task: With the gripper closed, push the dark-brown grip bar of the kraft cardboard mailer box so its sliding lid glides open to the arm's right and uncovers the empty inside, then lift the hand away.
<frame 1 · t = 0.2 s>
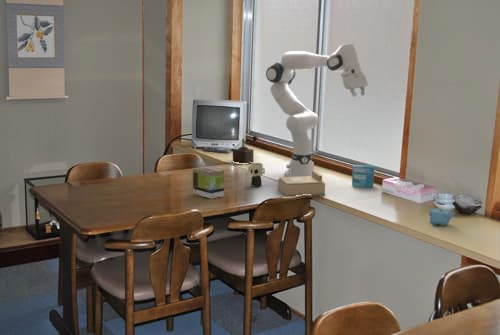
hand: (359, 95, 362), 52 cm above the counter, tool tilted 20°, fingers open, 8 cm apart
teapot: (441, 225, 296), on the counter
tea box: (208, 196, 346), on the counter
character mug: (256, 186, 368), on the counter
lid: (301, 177, 352), point 9 cm above the counter, slide at 0.0 cm
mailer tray: (301, 192, 354), on the counter
data package: (362, 186, 370), on the counter
pepper mill: (245, 163, 436), on the counter
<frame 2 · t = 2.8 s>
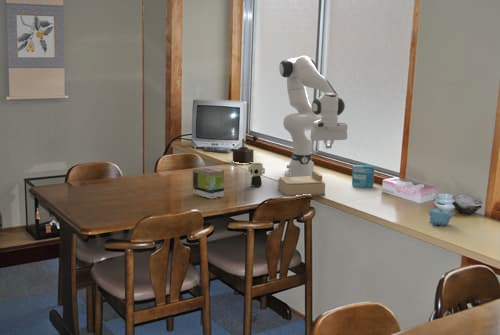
hand: (328, 148, 352), 24 cm above the counter, tool pointing down, fingers closed
nothing on the counter moved.
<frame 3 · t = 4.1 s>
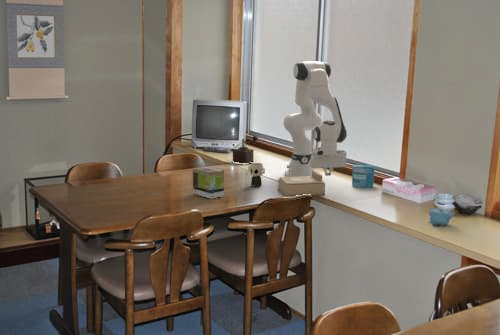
hand: (328, 175, 355), 9 cm above the counter, tool pointing down, fingers closed
nothing on the counter moved.
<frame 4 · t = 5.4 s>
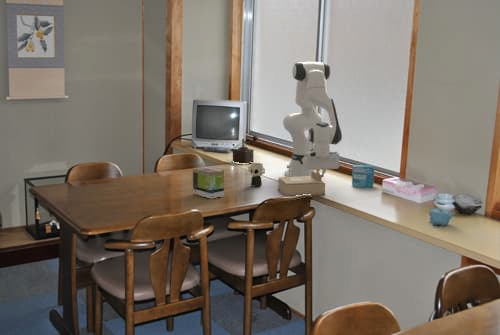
hand: (320, 177, 355), 8 cm above the counter, tool pointing down, fingers closed
lid: (300, 177, 352), point 9 cm above the counter, slide at 0.4 cm, touching gripper
everything else where it was.
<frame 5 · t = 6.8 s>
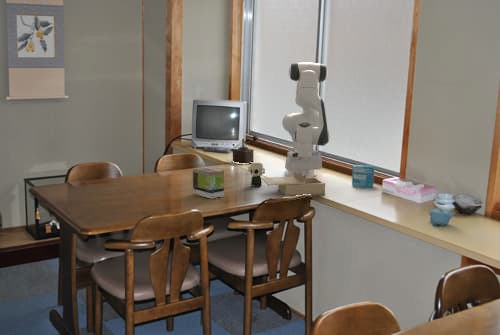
hand: (303, 177, 353), 8 cm above the counter, tool pointing down, fingers closed
lid: (283, 177, 350), point 9 cm above the counter, slide at 10.3 cm, touching gripper
everything else where it was.
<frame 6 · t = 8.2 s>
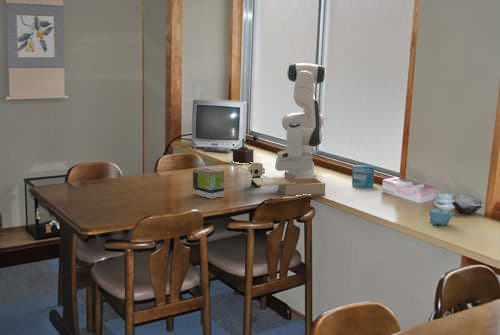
hand: (293, 178, 351), 8 cm above the counter, tool pointing down, fingers closed
lid: (273, 178, 349), point 9 cm above the counter, slide at 15.8 cm, touching gripper
everything else where it was.
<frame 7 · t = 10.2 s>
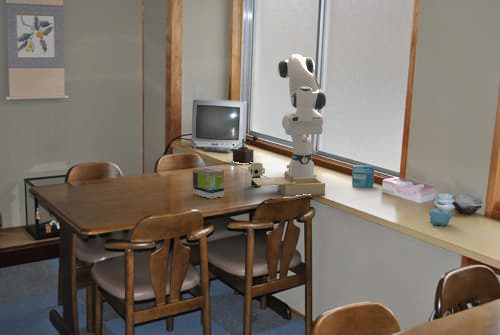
hand: (303, 142, 350), 28 cm above the counter, tool pointing down, fingers closed
lid: (273, 178, 349), point 9 cm above the counter, slide at 15.8 cm
everything else where it was.
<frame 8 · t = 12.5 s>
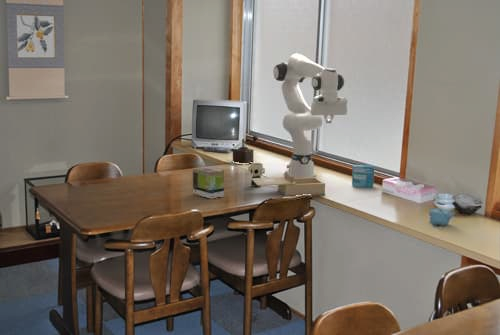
hand: (328, 123, 357), 37 cm above the counter, tool pointing down, fingers closed
nothing on the counter moved.
at the end: lid slide at 15.8 cm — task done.
